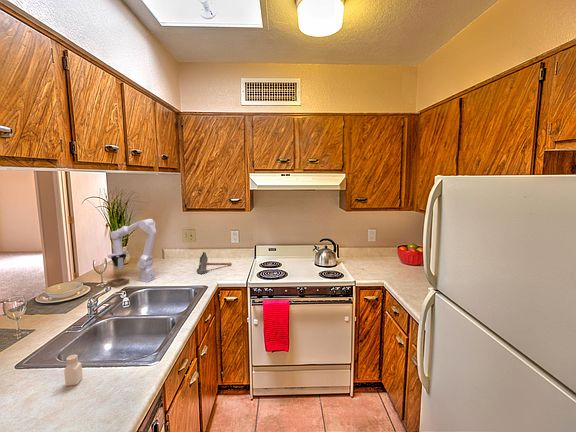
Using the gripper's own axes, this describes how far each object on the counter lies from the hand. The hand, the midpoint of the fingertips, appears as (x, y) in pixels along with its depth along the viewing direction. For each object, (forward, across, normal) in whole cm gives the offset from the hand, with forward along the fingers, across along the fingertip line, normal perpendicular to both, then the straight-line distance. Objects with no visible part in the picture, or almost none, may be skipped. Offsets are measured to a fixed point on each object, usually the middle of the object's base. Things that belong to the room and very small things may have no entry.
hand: (119, 265), depth 211 cm
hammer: (+10, -46, +50) cm, 69 cm away
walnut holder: (+10, +9, +11) cm, 17 cm away
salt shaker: (+10, +81, +89) cm, 121 cm away
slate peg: (+2, 0, 0) cm, 2 cm away
